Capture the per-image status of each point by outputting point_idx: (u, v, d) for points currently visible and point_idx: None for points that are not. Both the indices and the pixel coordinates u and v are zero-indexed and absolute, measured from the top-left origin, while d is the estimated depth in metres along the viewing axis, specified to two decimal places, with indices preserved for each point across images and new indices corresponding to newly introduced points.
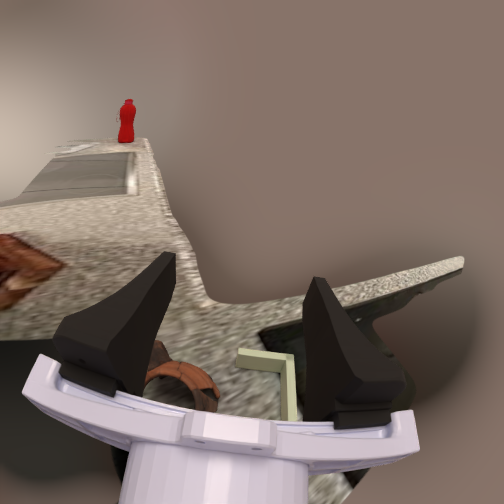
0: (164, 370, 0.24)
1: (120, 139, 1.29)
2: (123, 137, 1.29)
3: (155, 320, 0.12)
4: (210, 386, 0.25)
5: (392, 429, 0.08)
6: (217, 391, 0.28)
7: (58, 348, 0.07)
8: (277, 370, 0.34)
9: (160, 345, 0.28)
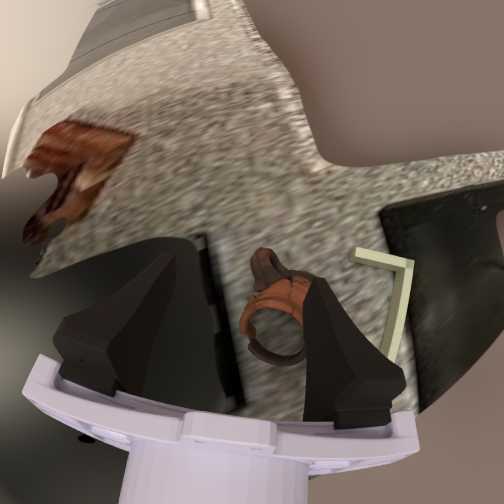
0: (274, 304, 0.24)
1: None
2: None
3: (155, 320, 0.12)
4: None
5: (392, 429, 0.08)
6: None
7: (58, 348, 0.07)
8: (393, 270, 0.29)
9: (268, 259, 0.26)
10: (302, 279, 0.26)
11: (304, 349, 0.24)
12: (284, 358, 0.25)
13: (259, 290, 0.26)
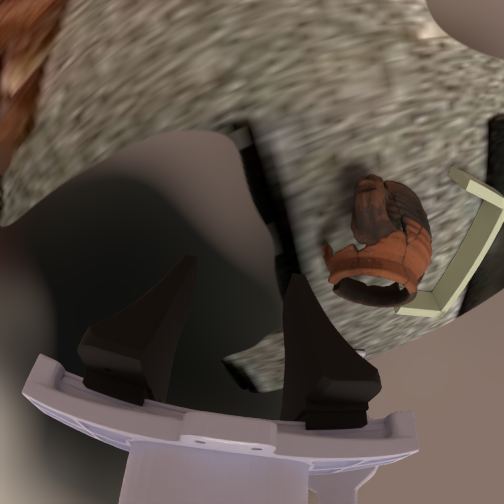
0: (387, 275, 0.17)
1: None
2: None
3: (178, 325, 0.12)
4: (428, 265, 0.18)
5: (392, 429, 0.08)
6: None
7: (83, 358, 0.07)
8: None
9: (384, 209, 0.15)
10: (415, 226, 0.17)
11: (400, 303, 0.20)
12: (373, 300, 0.22)
13: (363, 243, 0.17)
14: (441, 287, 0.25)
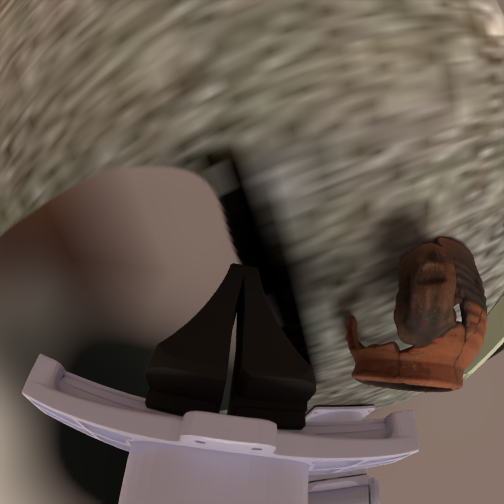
0: (434, 384, 0.10)
1: None
2: None
3: None
4: None
5: (392, 429, 0.08)
6: None
7: (150, 379, 0.07)
8: None
9: (452, 308, 0.09)
10: (476, 312, 0.10)
11: (436, 391, 0.13)
12: (402, 383, 0.15)
13: (409, 343, 0.11)
14: None
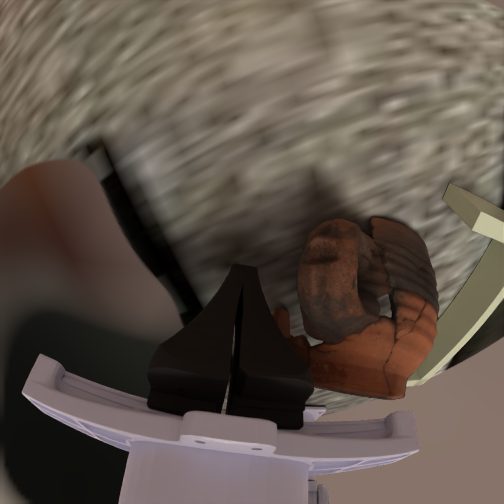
0: (353, 391, 0.09)
1: None
2: None
3: None
4: None
5: (392, 429, 0.08)
6: None
7: (152, 379, 0.07)
8: None
9: (354, 297, 0.08)
10: (414, 306, 0.10)
11: (380, 398, 0.13)
12: None
13: (317, 338, 0.10)
14: None
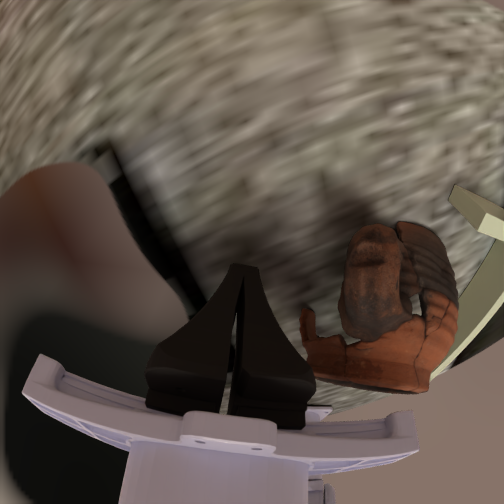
0: (388, 385, 0.10)
1: None
2: None
3: None
4: None
5: (392, 429, 0.08)
6: None
7: (149, 379, 0.07)
8: None
9: (397, 297, 0.08)
10: (441, 305, 0.10)
11: (403, 393, 0.13)
12: None
13: (355, 337, 0.10)
14: None
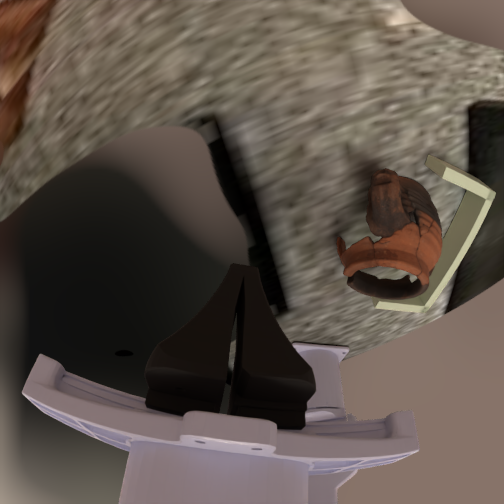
0: (402, 266, 0.17)
1: None
2: None
3: None
4: None
5: (392, 429, 0.08)
6: None
7: (150, 379, 0.07)
8: None
9: (400, 201, 0.15)
10: (427, 219, 0.17)
11: (412, 295, 0.20)
12: (385, 293, 0.22)
13: (378, 235, 0.18)
14: None
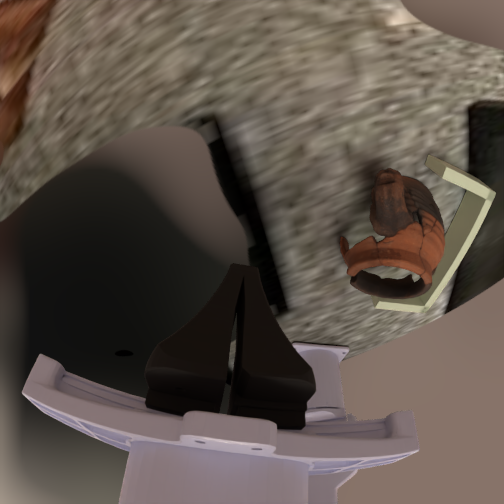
0: (405, 265, 0.17)
1: None
2: None
3: None
4: (441, 257, 0.18)
5: (392, 429, 0.08)
6: None
7: (150, 379, 0.07)
8: None
9: (403, 201, 0.15)
10: (430, 219, 0.17)
11: (415, 294, 0.20)
12: (388, 292, 0.22)
13: (382, 234, 0.18)
14: None
